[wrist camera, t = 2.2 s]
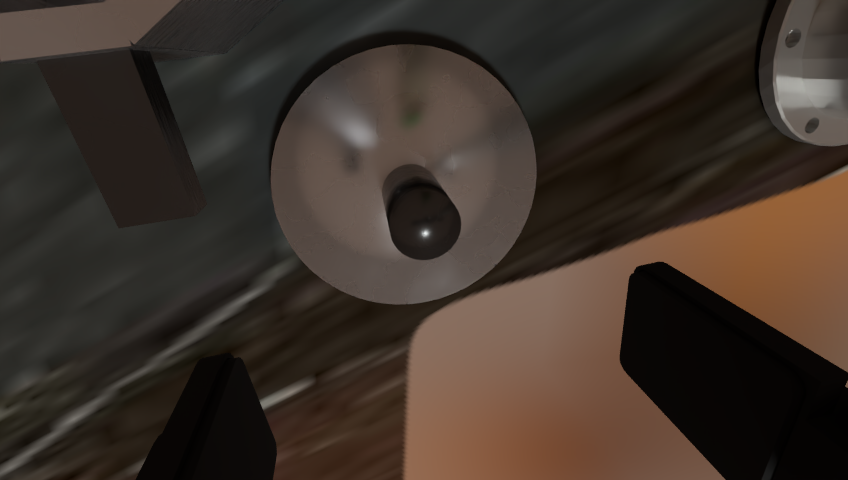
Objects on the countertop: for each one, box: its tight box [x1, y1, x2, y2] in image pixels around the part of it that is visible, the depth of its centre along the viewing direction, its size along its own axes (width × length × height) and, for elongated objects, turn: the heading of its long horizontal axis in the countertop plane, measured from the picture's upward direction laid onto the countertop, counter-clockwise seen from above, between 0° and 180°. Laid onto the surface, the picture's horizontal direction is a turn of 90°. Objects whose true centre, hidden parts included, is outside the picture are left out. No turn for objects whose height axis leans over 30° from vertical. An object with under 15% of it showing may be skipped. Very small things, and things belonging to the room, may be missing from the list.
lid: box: [271, 44, 537, 304], centre depth 19 cm, size 14×14×6 cm
